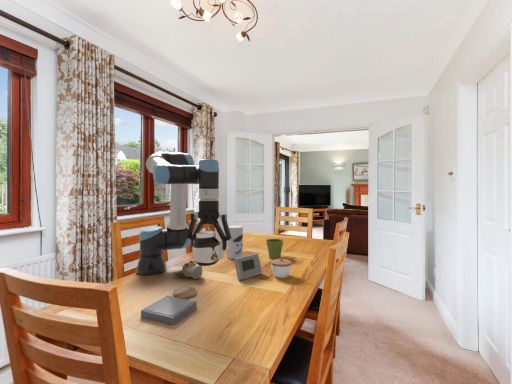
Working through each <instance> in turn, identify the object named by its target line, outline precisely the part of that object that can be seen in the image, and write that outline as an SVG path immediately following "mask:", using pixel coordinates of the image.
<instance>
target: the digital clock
mask: <svg viewBox="0 0 512 384" xmlns="http://www.w3.org/2000/svg"><path fill="white" fill-rule="evenodd" d="M233 263H234V266H235V270H236V277H237V279H238V280H239V281H242V280H246V279H251V278H253V277H257V276H258V275H261V274H262V273H263V268H262V265H261V260H260V257H259V254H258V252H257V253H256V252H255V253H250V254H246V255H243V256H241V257H238V258H235V259H233Z"/></svg>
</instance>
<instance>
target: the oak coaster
mask: <svg viewBox="0 0 512 384" xmlns="http://www.w3.org/2000/svg"><path fill="white" fill-rule="evenodd" d="M197 294H198V290H197V289H196V288H194V287H187V286H185V287H180V288H177V289H175V290H173V291H172V297H177V298H182V299H187V300H188V299H191V298H193V297H195V296H196V295H197Z"/></svg>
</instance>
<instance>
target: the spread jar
mask: <svg viewBox="0 0 512 384" xmlns="http://www.w3.org/2000/svg"><path fill="white" fill-rule="evenodd" d="M215 234H216V233H215V231H211V230H207V231H200V232H199V233H196V240H195V241H194V243H193V245H192V248H191V249H192V250H191V251H192V259H193V262H195V264H196V265H197V266H199V265H200V266H202V267H210V266H214V265H216V264H217V263H218V262H220V260H221V259H220V241H219V239H218V238H216V237H215V236H216V235H215Z"/></svg>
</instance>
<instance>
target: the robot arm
mask: <svg viewBox="0 0 512 384" xmlns="http://www.w3.org/2000/svg"><path fill="white" fill-rule="evenodd" d="M219 165H220V164H219V161H218V160H217V159H214V158H213V159H212V158H202V159H199V161H198V165H195V161H194V158H193V156H192V155H191V154H190V153H184V152H171V151H170V152H168V151H167V152H165V151H160V152H155V153H152V154H150V155H149V156H148V157H147V158H146V161H145V167H146V170H147V171H148V172H149V173H150V174H152V179H153V182H154V183H155V184H157V185H158V184H159V185H170V199H169V200H170V201H169V202H170V203H169V205H170V206H169V223H168V224H166V228H163V227H162V226H152V227H147V228H144V229H142V230H141V231H140V232H139V239H138V240H139V260H138V262H137V266H136V269H135V270H136V272H135V273H137V274H138V275H142V276H151V275H157V274H158V275H159V274H161V273H164V272H165V271H166V270H167V265H166V262H165V259H164V255H163V251H168V250H170V251H171V250H181V249H185V248H188V247H189V246H190V248H191V249H192V245H193V243H194V241H195V240H196V239H197V237H196V233H199V232H201V230H202V228H203V227H204V225H212V226H213V227H214V228H215V229H214V230H215V231H216V232H217V235H218V236H219V237H220V240H221V241H219V243H220V259H219V260H223V259H224V258H225V251H226V250H227V241H228V240H230V239H231V234H230V230H229V227H228V226H229V224H228V223H229V222H228V220H227V219H228V214H227V213H223V214H222V213H220V211H219V210H220V209H219V208H220V207H219V206H220V204H219V200H218V199H219V198H220V197H219V195H220V194H219V193H220V191H219V189H220V187H219V186H220V184H219V183H220V180H219V179H220V178H219V177H220V175H219V173H220V168H219V167H220V166H219ZM188 185H198V199H199V200H198V213H197V212H193V213H191V214H190V222H189V224H187V221H186V220H187V219H186V218H187V201H188V200H187V198H188V197H187V196H188ZM198 218H199V222H198V224H197V226H196V223H197V219H198ZM218 219H220V220H221V224H222V227H223V229H222V227H221V225H220V222H219V220H218ZM195 226H196V227H195ZM194 229H195V230H194Z"/></svg>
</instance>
